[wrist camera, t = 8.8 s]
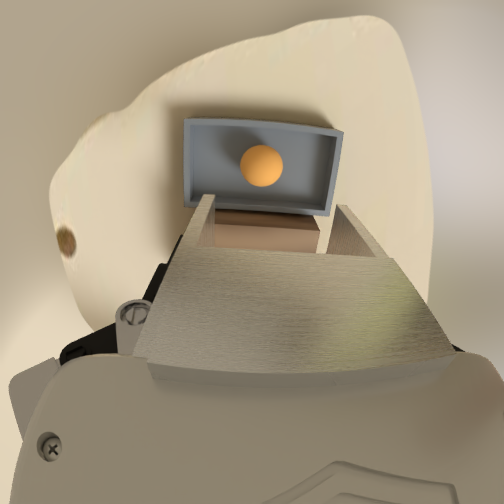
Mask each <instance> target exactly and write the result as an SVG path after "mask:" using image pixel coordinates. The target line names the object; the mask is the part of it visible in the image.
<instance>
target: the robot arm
mask: <svg viewBox="0 0 504 504" xmlns="http://www.w3.org/2000/svg"><path fill="white" fill-rule="evenodd" d="M182 237H183V235H181V236H180V238H179V240H178V242H177V244H176V246H175V248H174V250H173V252H172V254H171V256H170V258H169V261H168V263H167V264H163V263H161V264H159V266H158V267H157V269H156V271H155V273H154V275H153V278H152V280H151V282H150V284H149V286H148V288H147V290H146V292H145V294H144V296H143V298H142V300H141V299H138V300H131V301H128V302H126V303H124V304H122V305H121V306H120V307H119V308H118V310H117V312H116V316H115V318H116V323H113V324H111V325H109V326H107V327H105V328H102V329H100V330H98V331H96V332H94V333H91V334H89V335H87V336H85V337H83V338H80V339H78V340H76V341H74V342H72V343H70V344H68V345H67V346H66V347H65V348H64V349H63V350H62V352H61V354H60V358H59V359H56V360H55V358H54V357H52V358H50V359H48V360H46V361H44V362H42V363H40V364H38V365H36V366H34V367H31V368H29V369H27V370H25V371H23V372H21V373H19V374H17V375H15V376H14V377H13V378H12V380H11V381H10V384H9V395H10V399H11V403H12V407H13V410H14V414H15V417H16V421H17V424H18V427H19V430H20V433H21V436H22V439H23V443H22V447H21V450H20V453H19V457H18V461H17V465H16V468H15V473H14V478H13V483H12V490H11V496H10V504H504V381H503V379H502V378H501V376H500V374H499V373H498V371H497V370H496V368H495V367H494V365H493V364H492V363H491V362H490V361H489V360H488V359H487V358H485V357H483V356H481V355H478V354H474V353H469V352H465V351H463V350H461V349H460V348H458V347H456V346H454V345H453V344H452V346H453V348H454V350H455V351H456V353H457V355H456V356H455V358H454V359H453V360H452V362H451V363H450V364H449V366H448V367H447V368H446V369H443V370H438V371H434V372H429V373H424V374H418V375H413V376H408V377H402V378H396V379H390V380H383V381H375V382H367V383H358V384H348V385H336V386H321V387H298V388H251V387H229V386H215V385H203V384H193V383H183V382H175V381H167V380H160V379H153V378H152V376H151V373H150V371H149V368H148V365H147V359H148V358H142V357H134V356H132V354H133V352H134V349H135V346H136V344H137V341H138V338H139V336H140V333H141V331H142V328H143V326H144V323H145V321H146V318H147V316H148V313H149V311H150V308H151V306H152V304H153V301H154V299H155V296H156V294H157V292H158V289H159V287H160V285H161V283H162V280H163V278H164V276H165V274H166V271H167V269H168V267H169V265H170V262H171V260H172V258H173V256H174V254H175V252H176V249H177V247H178V245H179V243H180V241H181V239H182Z"/></svg>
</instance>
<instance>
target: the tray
mask: <svg viewBox="0 0 504 504" xmlns="http://www.w3.org/2000/svg"><path fill="white" fill-rule="evenodd" d="M343 134H344V132H342V131H340V130H337V129H332V128H326V127H319V126H313V125H306V124H298V123H290V122H280V121H270V120H258V119H242V118H215V117H189V118H186V119H184V145H183V167H184V207H197V206H198V205H199V203H200V201H201V199H202V197H203V195H204V194H211V195H215V208H219V209H238V210H254V211H269V212H282V213H295V214H306V215H318V216H328V217H329V215H330V210H331V205H332V200H333V194H334V189H335V184H336V178H337V172H338V166H339V160H340V154H341V148H342V141H343ZM256 145H266V146H270V147H272V148H273V149H275V150H276V151H277V152H278V153H279V155H280V156H281V159H282V162H283V170H282V173H281V175H280V177H279V178H278V180H277V181H276V182H274V183H273V184H271V185H268V186H263V187H260V186H255V185H252V184H250V183H249V182H248V181H247V180H246V179H245V178H244V177H243V175H242V173H241V169H240V162H241V158H242V156H243V154H244V153H245V152H246V151H247V150H248V149H249V148H251V147H253V146H256Z"/></svg>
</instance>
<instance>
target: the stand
mask: <svg viewBox="0 0 504 504" xmlns="http://www.w3.org/2000/svg"><path fill="white" fill-rule="evenodd" d="M319 234H320V230H319V228H318V225H317V223H316V221H315V219H314V217H313V215H306V214H295V213H282V212H269V211H254V210H238V209H219V208H215V245H214V247H219V248H235V249H252V250H268V251H285V252H301V253H316V248H317V244H318V239H319Z"/></svg>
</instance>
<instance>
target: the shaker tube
mask: <svg viewBox="0 0 504 504" xmlns="http://www.w3.org/2000/svg"><path fill="white" fill-rule="evenodd" d="M214 245H215V195H211V194H204V195H203V197H202V199H201V201H200V203H199V205H198V206H197V208H196V210H195V212H194V214H193V216H192V218H191V220H190V222H189V224H188V227H187V229H186V231H185V233H184V235H183V237H182V239H181V241H180V243H179V245H178V247H177V249H176V252H175V254H174V256H173V258H172V260H171V262H170V265H169V267H168V269H167V271H166V274H165V276H164V278H163V280H162V283H161V285H160V287H159V289H158V292H157V294H156V296H155V299H154V301H153V304H152V306H151V308H150V311H149V313H148V316H147V318H146V321H145V323H144V326H143V328H142V331H141V333H140V336H139V338H138V341H137V344H136V346H135V349H134V352H133V354H132V356H134V357H142V358H148V359H147V365H148V368H149V371H150V373H151V376H152V378H153V379H160V380H167V381H175V382H183V383H193V384H203V385H215V386H229V387H251V388H298V387H321V386H336V385H348V384H358V383H367V382H375V381H383V380H390V379H396V378H402V377H408V376H413V375H418V374H424V373H429V372H434V371H438V370H443V369H446V368H447V367H448V366H449V364H450V363H451V362H452V360H453V359H454V358H455V356H456V355H457V353H456V351H455V350H454V348H453V346H452V344H451V343H450V341H449V339H448V338H447V336H446V334H445V333H444V331H443V330H442V328H441V326H440V325H439V323H438V322H437V320H436V318H435V317H434V315H433V314H432V312H431V311H430V309H429V308H428V306H427V305H426V303H425V302H424V300H423V299H422V297H421V296H420V295H419V293H418V292H417V290H416V289H415V287H414V286H413V285H412V283H411V282H410V280H409V279H408V278H407V276H406V275H405V274H404V272H403V271H402V270H401V268H400V267H399V266H398V264H397V263H396V262H395V260H394V259H393V258H389V257H388V255H387V254H386V253H385V251H384V250H383V249H382V248H381V246H380V245H379V244H378V243H377V241H376V240H375V239H374V237H373V236H372V235H371V234H370V233H369V231H368V230H367V229H366V228H365V226H364V225H363V224H362V223H361V222H360V220H359V219H358V218H357V217H356V216H355V214H354V213H353V212H352V211H351V210H350V209H349V208H348V206H347V205H339V204H337V205H336V210H335V215H334V220H333V225H332V230H331V234H330V239H329V243H328V248H327V252H326V254H317V253H301V252H285V251H268V250H252V249H235V248H219V247H214Z"/></svg>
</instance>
